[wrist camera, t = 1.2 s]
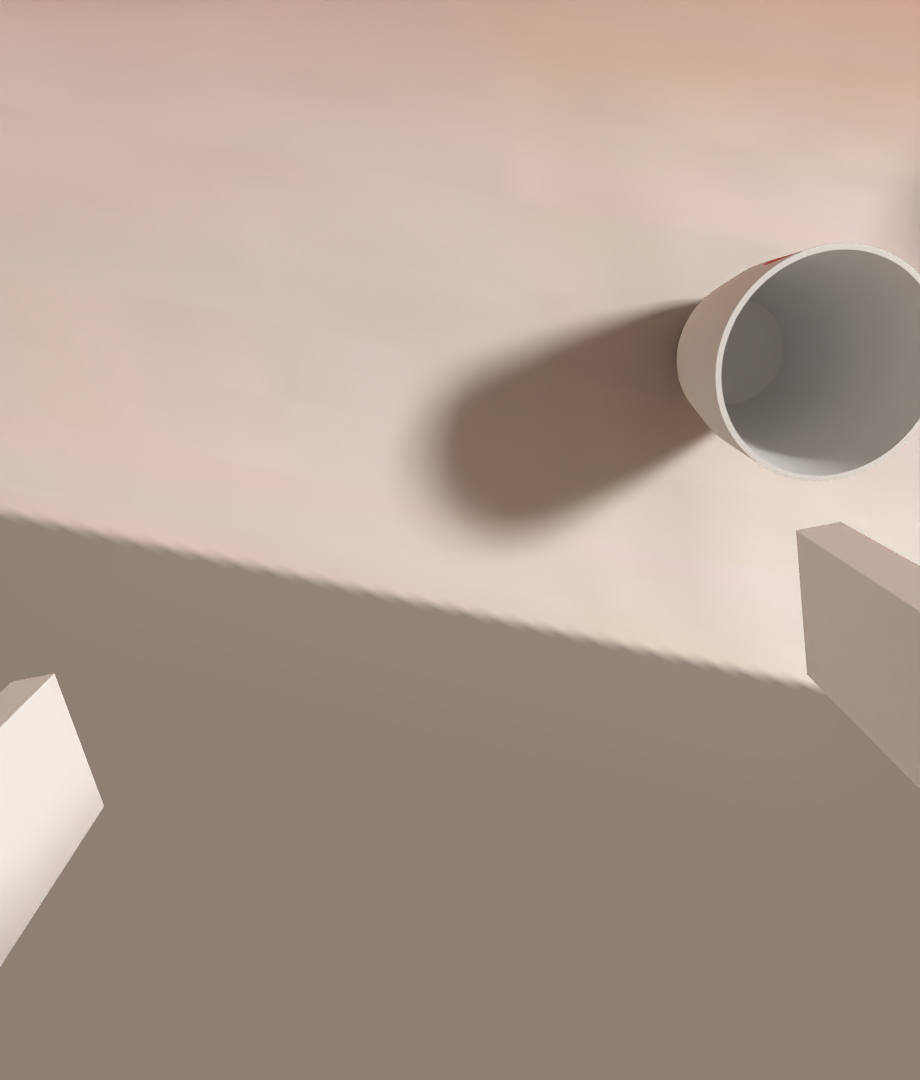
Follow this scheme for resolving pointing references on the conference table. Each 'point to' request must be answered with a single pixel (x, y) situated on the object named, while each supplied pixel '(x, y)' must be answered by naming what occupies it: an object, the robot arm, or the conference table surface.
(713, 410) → the cup
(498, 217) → the conference table surface
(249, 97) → the conference table surface
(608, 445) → the conference table surface
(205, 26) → the conference table surface
